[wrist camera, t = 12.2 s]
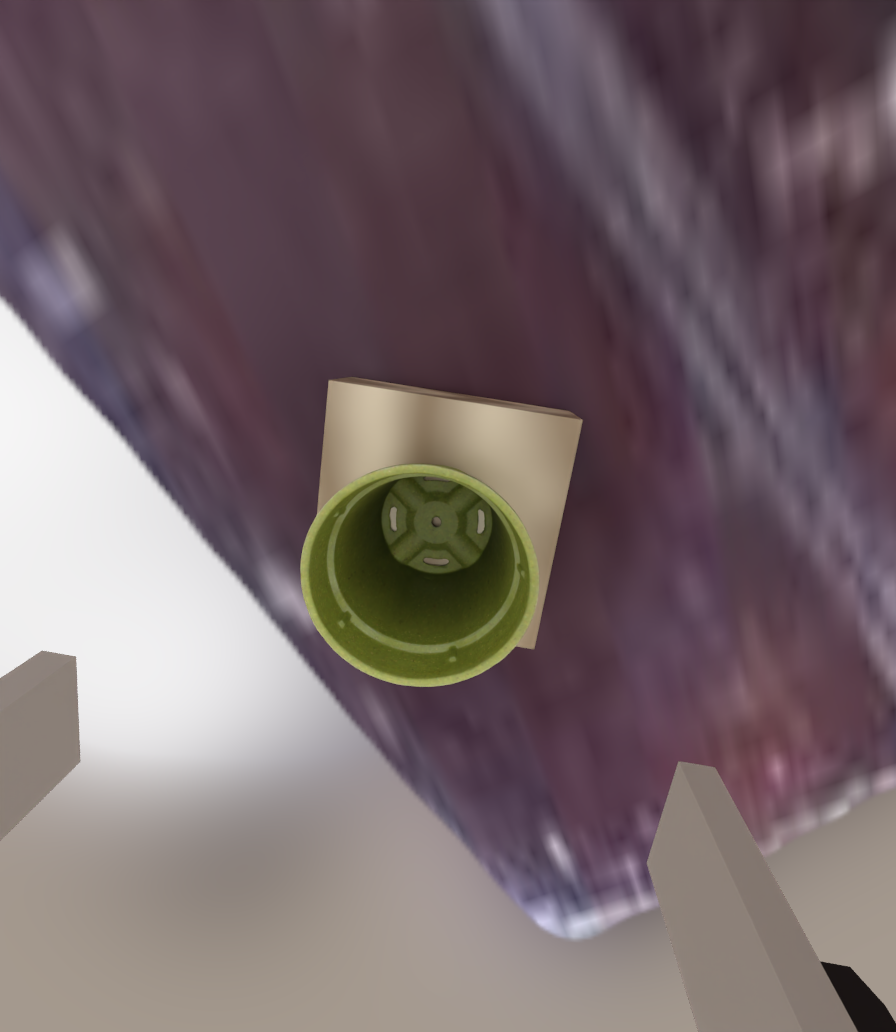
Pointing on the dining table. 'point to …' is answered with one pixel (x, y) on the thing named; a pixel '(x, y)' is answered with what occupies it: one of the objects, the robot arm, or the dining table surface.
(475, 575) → the plant pot
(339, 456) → the ash block
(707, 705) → the dining table surface
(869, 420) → the dining table surface
